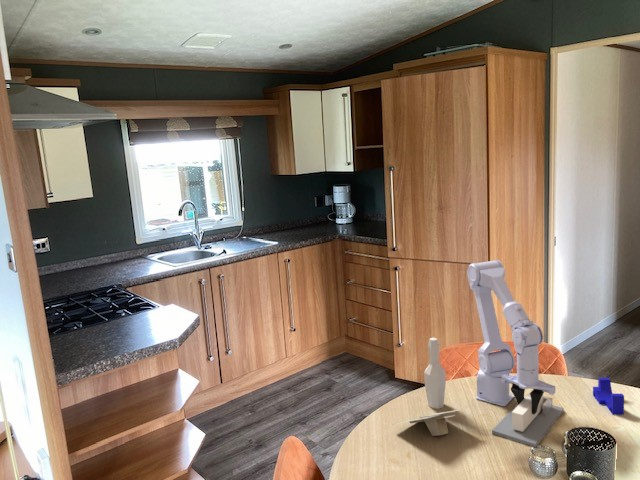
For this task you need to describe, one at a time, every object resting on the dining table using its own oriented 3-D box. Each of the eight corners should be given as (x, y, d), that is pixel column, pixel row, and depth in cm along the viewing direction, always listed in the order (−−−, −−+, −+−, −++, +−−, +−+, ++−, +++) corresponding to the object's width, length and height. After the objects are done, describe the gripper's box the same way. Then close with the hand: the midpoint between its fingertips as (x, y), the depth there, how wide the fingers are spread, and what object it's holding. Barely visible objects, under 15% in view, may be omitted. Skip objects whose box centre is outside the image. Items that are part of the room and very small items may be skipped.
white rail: (512, 428, 146) (511, 412, 145) (533, 405, 157) (532, 389, 157) (522, 431, 144) (522, 415, 143) (543, 407, 155) (543, 392, 155)
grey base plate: (492, 433, 147) (491, 420, 146) (523, 400, 164) (523, 388, 163) (535, 447, 139) (535, 433, 138) (563, 411, 156) (563, 398, 155)
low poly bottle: (440, 411, 161) (437, 344, 157) (422, 406, 165) (419, 340, 161) (450, 403, 166) (447, 337, 162) (432, 398, 170) (429, 334, 166)
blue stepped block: (592, 395, 164) (593, 377, 163) (608, 395, 163) (608, 377, 162) (606, 415, 152) (607, 395, 151) (623, 415, 151) (624, 396, 150)
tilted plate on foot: (402, 454, 147) (433, 437, 137) (390, 423, 152) (419, 405, 141) (444, 442, 156) (476, 425, 146) (432, 413, 160) (462, 395, 150)
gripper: (496, 366, 150) (497, 409, 152) (549, 377, 140) (549, 424, 143) (506, 357, 155) (507, 400, 157) (557, 368, 145) (557, 413, 148)
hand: (528, 410), depth 150 cm, fingers closed on white rail, 3 cm apart
